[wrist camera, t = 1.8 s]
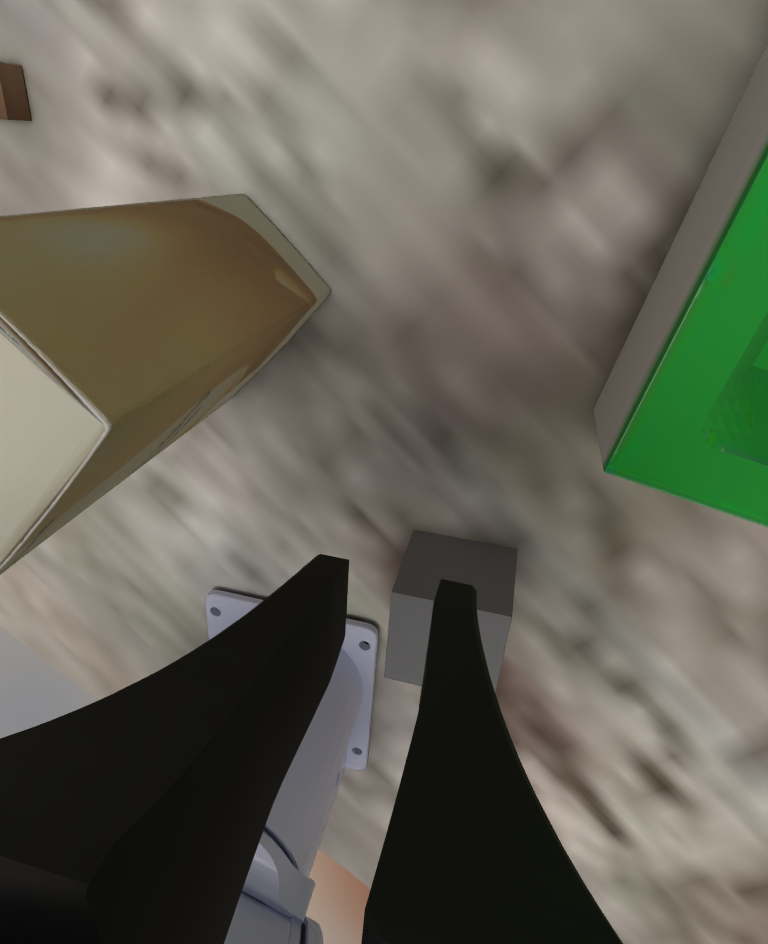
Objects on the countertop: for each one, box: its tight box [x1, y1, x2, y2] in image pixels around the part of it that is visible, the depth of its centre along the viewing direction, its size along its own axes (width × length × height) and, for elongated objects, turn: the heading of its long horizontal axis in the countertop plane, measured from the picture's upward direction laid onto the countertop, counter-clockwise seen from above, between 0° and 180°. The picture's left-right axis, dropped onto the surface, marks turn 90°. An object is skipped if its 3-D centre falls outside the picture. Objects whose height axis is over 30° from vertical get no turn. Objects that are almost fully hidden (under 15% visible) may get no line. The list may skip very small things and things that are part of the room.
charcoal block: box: [384, 530, 517, 692], centre depth 23 cm, size 4×4×4 cm
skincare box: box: [0, 194, 330, 574], centre depth 16 cm, size 6×4×12 cm
